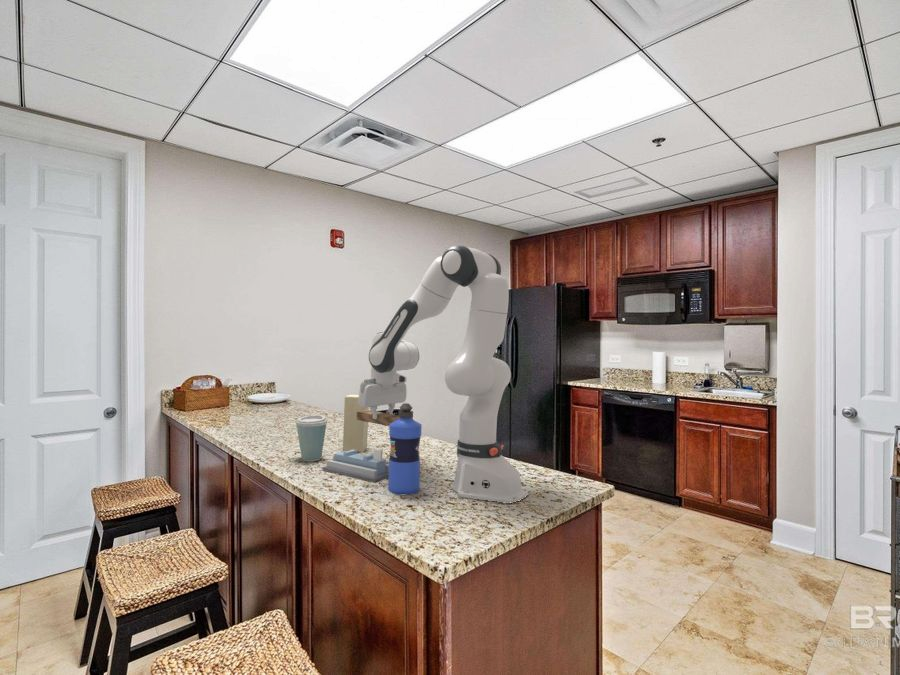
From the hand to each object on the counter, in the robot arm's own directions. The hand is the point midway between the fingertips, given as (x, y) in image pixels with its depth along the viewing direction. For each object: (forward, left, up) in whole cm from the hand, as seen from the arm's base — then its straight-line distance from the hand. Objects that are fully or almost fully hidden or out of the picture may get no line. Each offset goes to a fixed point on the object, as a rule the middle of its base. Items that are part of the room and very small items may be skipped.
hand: (382, 417), depth 164 cm
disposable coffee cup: (+23, +11, -16) cm, 30 cm away
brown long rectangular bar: (+1, 0, -2) cm, 2 cm away
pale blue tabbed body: (-1, +12, -15) cm, 19 cm away
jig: (-1, +12, -16) cm, 20 cm away
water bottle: (-23, +18, -16) cm, 33 cm away
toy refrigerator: (+20, -9, -16) cm, 27 cm away
